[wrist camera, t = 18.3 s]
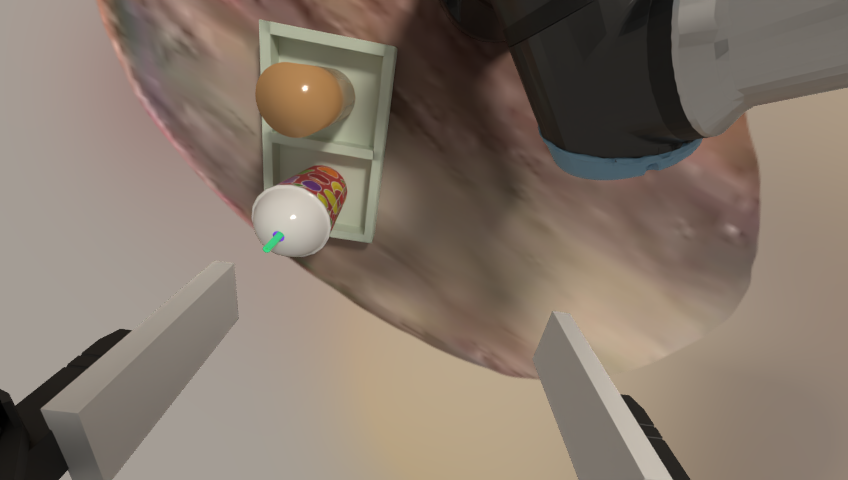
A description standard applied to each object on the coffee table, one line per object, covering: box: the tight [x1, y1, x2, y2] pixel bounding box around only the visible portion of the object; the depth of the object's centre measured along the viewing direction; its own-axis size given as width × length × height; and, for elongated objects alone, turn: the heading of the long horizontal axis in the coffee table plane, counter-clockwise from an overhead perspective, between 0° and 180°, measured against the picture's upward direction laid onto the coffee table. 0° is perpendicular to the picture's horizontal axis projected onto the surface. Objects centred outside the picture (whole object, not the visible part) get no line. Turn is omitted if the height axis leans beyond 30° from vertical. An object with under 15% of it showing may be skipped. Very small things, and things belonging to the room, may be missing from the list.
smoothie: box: [252, 165, 347, 257], centre depth 40 cm, size 8×8×20 cm
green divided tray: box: [259, 19, 398, 243], centre depth 45 cm, size 26×15×4 cm, turn 170°
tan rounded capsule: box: [256, 62, 355, 138], centre depth 37 cm, size 6×6×14 cm
